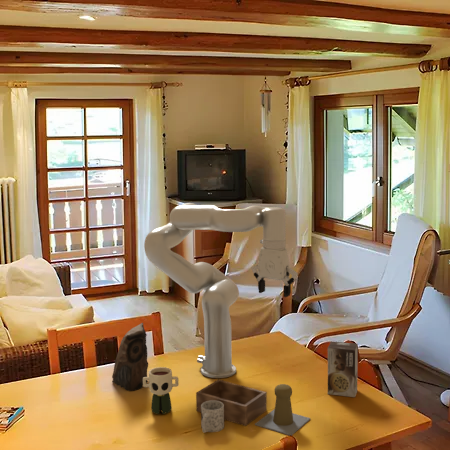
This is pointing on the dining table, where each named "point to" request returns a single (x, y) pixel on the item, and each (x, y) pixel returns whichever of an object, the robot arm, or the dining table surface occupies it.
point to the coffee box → (342, 368)
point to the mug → (212, 416)
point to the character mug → (160, 388)
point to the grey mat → (288, 430)
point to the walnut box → (234, 401)
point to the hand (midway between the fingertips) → (274, 294)
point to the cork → (283, 405)
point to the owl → (131, 360)
